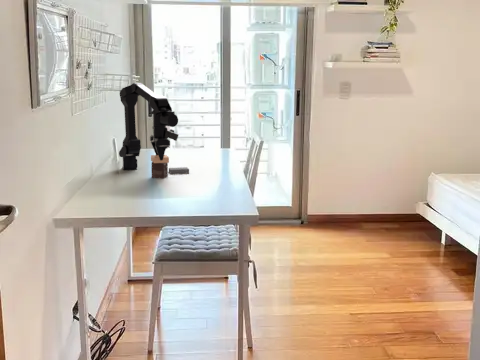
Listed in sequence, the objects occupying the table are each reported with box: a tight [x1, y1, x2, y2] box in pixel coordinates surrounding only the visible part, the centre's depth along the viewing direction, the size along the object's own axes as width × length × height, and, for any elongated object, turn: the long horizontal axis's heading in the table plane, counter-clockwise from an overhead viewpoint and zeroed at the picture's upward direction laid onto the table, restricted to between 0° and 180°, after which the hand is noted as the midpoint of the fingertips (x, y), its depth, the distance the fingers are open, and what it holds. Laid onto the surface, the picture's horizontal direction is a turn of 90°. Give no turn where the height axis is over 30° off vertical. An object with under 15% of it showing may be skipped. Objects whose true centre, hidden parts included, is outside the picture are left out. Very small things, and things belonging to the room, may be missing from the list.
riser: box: [168, 166, 190, 175], centre depth 262 cm, size 9×5×2 cm, turn 108°
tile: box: [150, 154, 170, 164], centre depth 249 cm, size 7×7×2 cm
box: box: [151, 161, 169, 179], centre depth 250 cm, size 6×6×7 cm
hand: (159, 158), depth 249 cm, fingers open, 9 cm apart
